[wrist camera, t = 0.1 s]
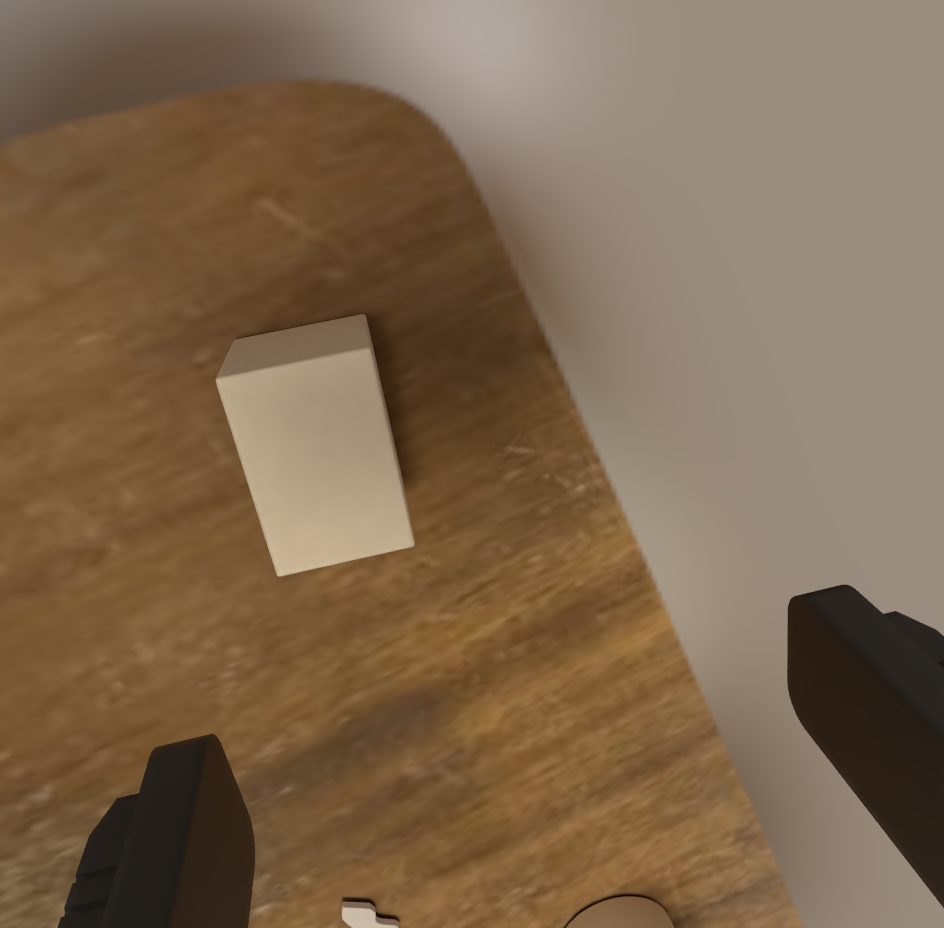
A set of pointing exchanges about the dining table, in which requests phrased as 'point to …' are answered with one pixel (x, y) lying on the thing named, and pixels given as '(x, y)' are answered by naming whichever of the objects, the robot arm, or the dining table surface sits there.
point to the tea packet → (316, 444)
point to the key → (365, 916)
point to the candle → (623, 914)
